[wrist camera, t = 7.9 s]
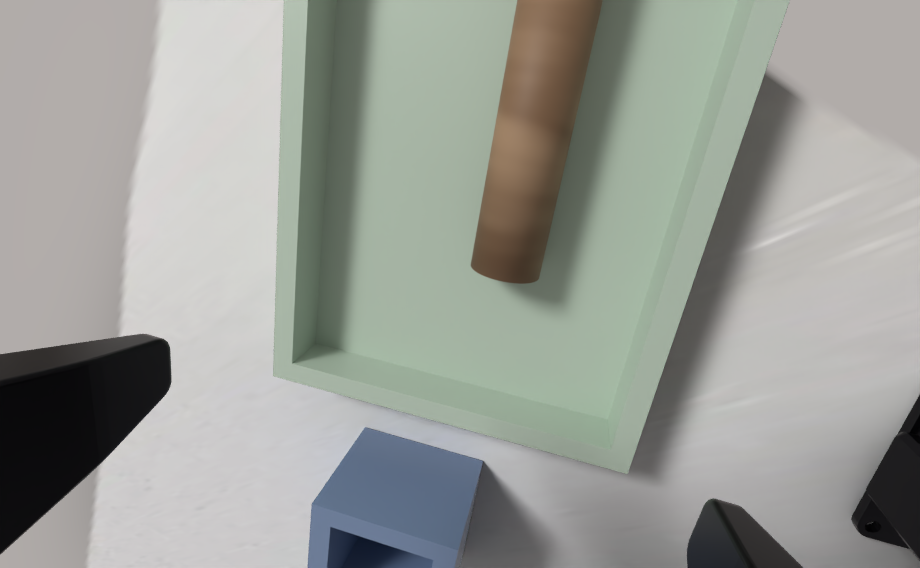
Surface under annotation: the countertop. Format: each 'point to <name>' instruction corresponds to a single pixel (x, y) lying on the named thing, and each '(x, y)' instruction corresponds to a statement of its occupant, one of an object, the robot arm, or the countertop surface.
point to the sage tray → (459, 202)
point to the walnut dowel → (532, 135)
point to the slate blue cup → (394, 506)
